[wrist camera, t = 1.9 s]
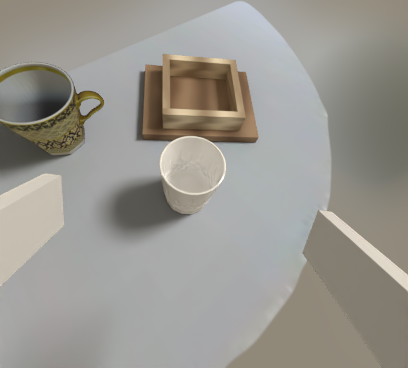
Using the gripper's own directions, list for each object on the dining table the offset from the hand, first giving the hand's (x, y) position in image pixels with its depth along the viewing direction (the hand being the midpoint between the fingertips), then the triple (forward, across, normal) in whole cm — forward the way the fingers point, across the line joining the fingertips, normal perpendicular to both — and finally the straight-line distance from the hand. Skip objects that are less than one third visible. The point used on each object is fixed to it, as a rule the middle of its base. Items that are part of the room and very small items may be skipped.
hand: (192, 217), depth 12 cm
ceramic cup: (+28, -19, -3) cm, 34 cm away
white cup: (+23, 0, -8) cm, 24 cm away
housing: (+35, 0, +5) cm, 36 cm away
